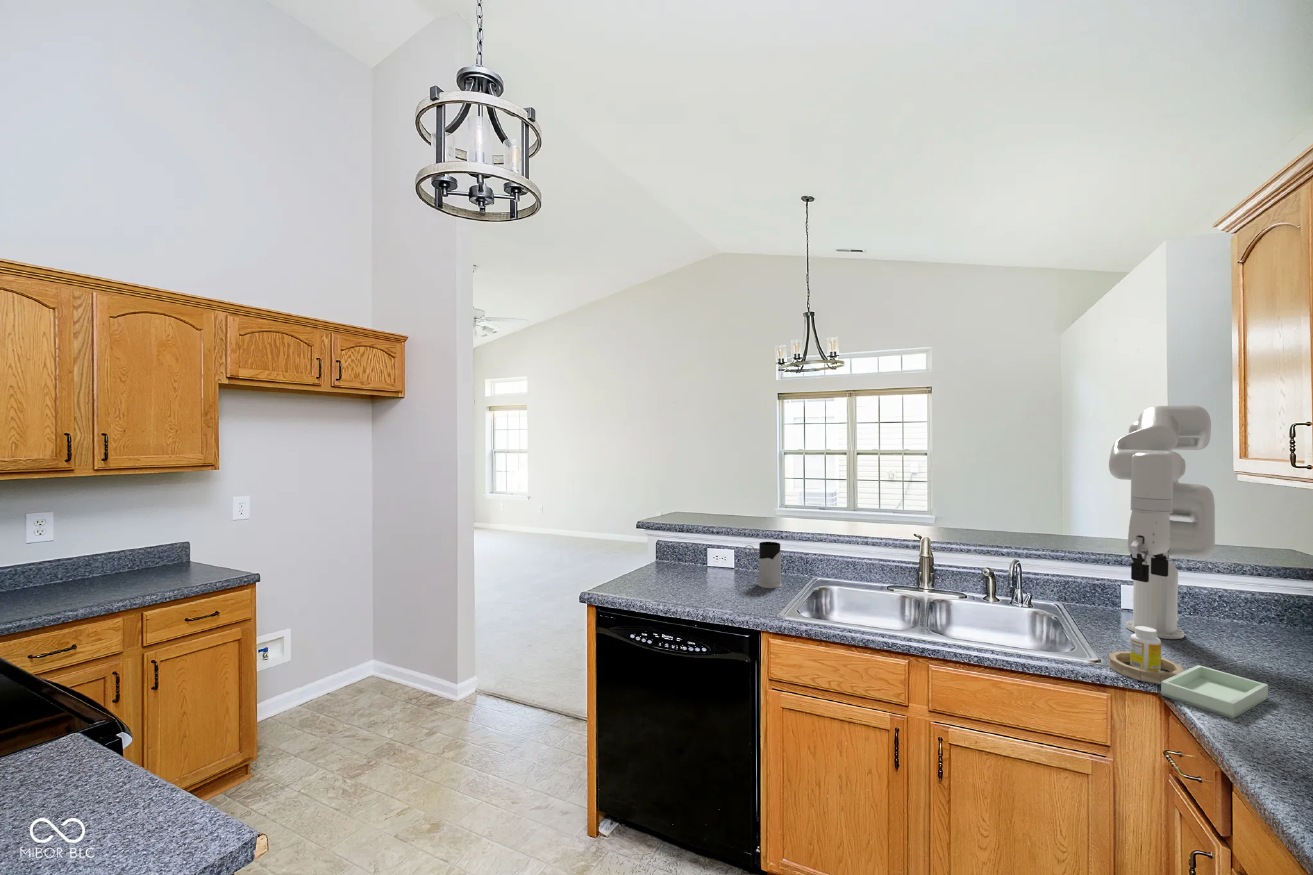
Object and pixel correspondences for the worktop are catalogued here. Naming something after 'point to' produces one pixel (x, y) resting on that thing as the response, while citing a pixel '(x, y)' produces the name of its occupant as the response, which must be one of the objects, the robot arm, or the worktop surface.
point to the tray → (1215, 691)
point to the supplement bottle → (1145, 649)
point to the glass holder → (768, 564)
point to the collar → (1140, 674)
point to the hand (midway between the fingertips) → (1149, 578)
